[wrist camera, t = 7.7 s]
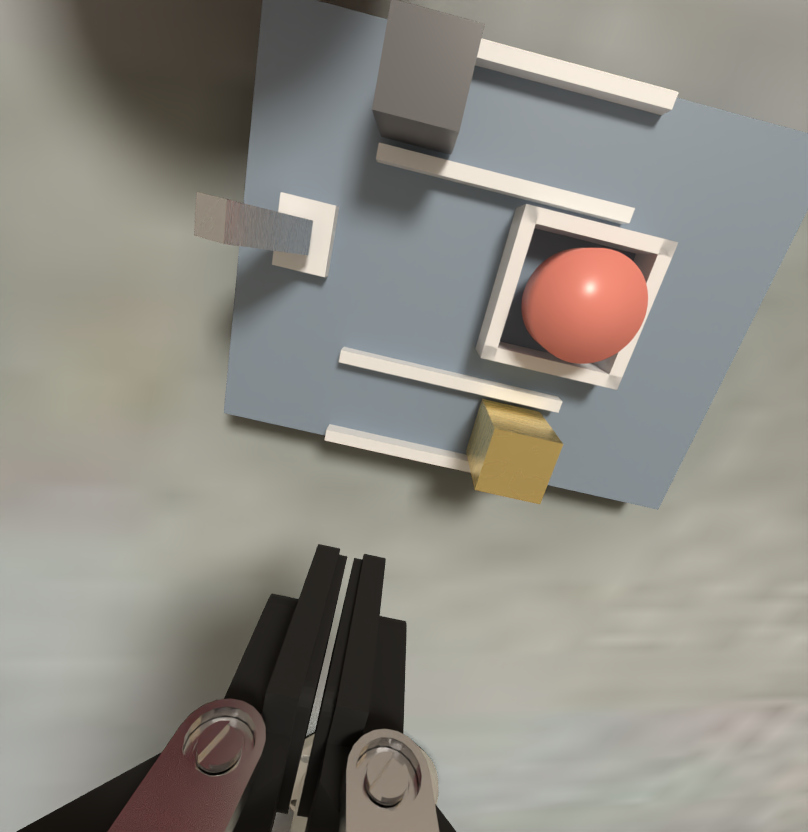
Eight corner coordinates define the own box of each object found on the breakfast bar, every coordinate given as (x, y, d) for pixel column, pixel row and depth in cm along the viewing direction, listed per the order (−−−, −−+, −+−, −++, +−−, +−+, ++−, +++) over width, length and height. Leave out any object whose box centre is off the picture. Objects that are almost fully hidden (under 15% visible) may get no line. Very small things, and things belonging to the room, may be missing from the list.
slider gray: (451, 155, 19) (459, 132, 15) (381, 136, 19) (372, 109, 15) (470, 70, 18) (484, 23, 14) (397, 50, 18) (391, -2, 14)
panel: (637, 487, 27) (677, 531, 23) (241, 398, 26) (206, 427, 22) (794, 153, 21) (888, 130, 17) (282, 16, 20) (245, -46, 16)
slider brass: (521, 463, 24) (540, 504, 20) (465, 451, 24) (474, 490, 20) (539, 411, 23) (563, 444, 19) (482, 398, 23) (494, 428, 19)
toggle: (308, 255, 19) (223, 243, 15) (282, 248, 20) (194, 234, 16) (313, 220, 19) (226, 199, 15) (287, 214, 19) (196, 191, 15)
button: (602, 362, 20) (621, 374, 18) (508, 340, 20) (517, 349, 18) (642, 261, 19) (667, 263, 17) (540, 236, 19) (554, 235, 17)
